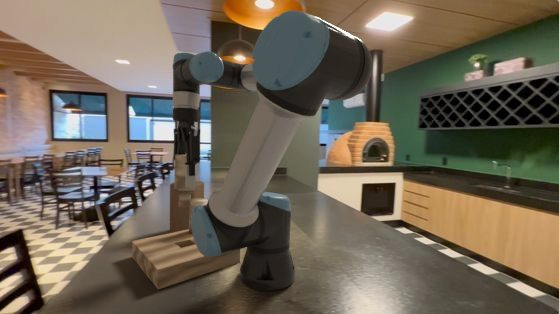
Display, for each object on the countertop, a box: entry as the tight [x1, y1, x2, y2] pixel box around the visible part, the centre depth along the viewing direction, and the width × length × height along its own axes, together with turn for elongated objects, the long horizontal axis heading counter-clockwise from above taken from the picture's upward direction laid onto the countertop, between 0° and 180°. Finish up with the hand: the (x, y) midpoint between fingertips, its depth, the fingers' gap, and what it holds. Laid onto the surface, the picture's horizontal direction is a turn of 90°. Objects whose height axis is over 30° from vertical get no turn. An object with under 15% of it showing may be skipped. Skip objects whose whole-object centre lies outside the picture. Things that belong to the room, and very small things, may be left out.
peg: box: [174, 155, 197, 207], centre depth 82 cm, size 6×6×16 cm
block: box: [169, 180, 205, 233], centre depth 108 cm, size 10×10×20 cm
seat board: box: [131, 198, 241, 290], centre depth 83 cm, size 24×24×16 cm
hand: (185, 184), depth 82 cm, fingers closed on peg, 6 cm apart
